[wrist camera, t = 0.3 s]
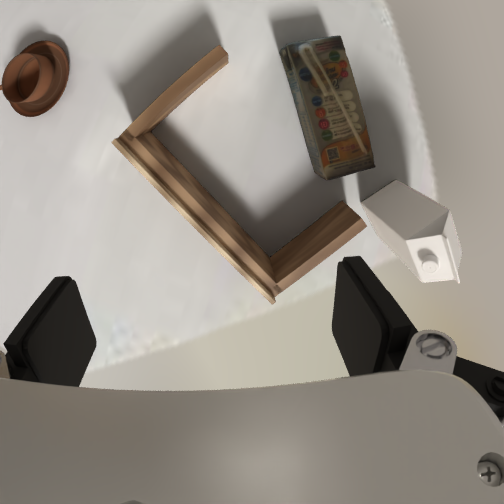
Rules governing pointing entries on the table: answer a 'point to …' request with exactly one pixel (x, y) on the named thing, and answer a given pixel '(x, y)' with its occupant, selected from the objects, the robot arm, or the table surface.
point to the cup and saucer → (36, 78)
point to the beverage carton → (328, 106)
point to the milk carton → (416, 231)
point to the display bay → (212, 213)
